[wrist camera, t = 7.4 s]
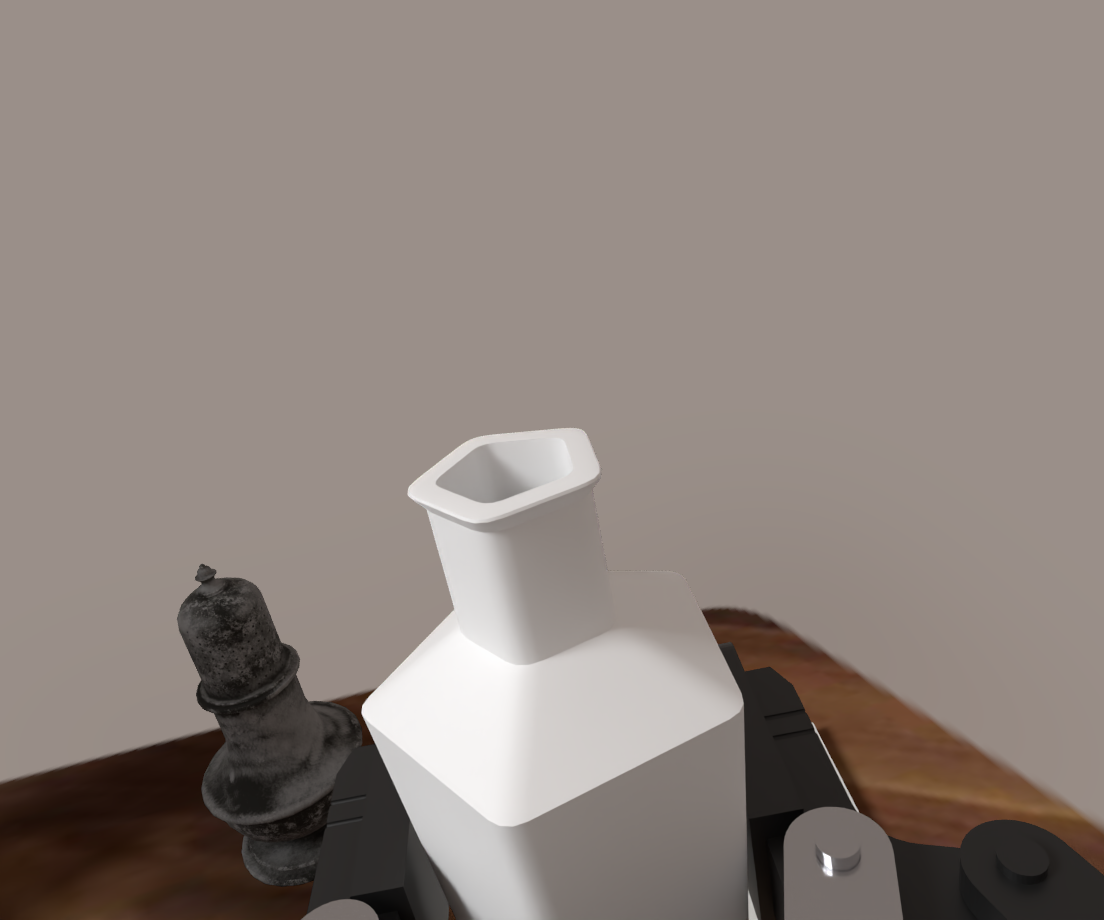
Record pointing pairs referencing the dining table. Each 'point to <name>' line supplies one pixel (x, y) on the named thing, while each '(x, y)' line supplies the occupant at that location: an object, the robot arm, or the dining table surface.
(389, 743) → the white vase
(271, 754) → the black chess piece
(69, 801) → the dining table surface
